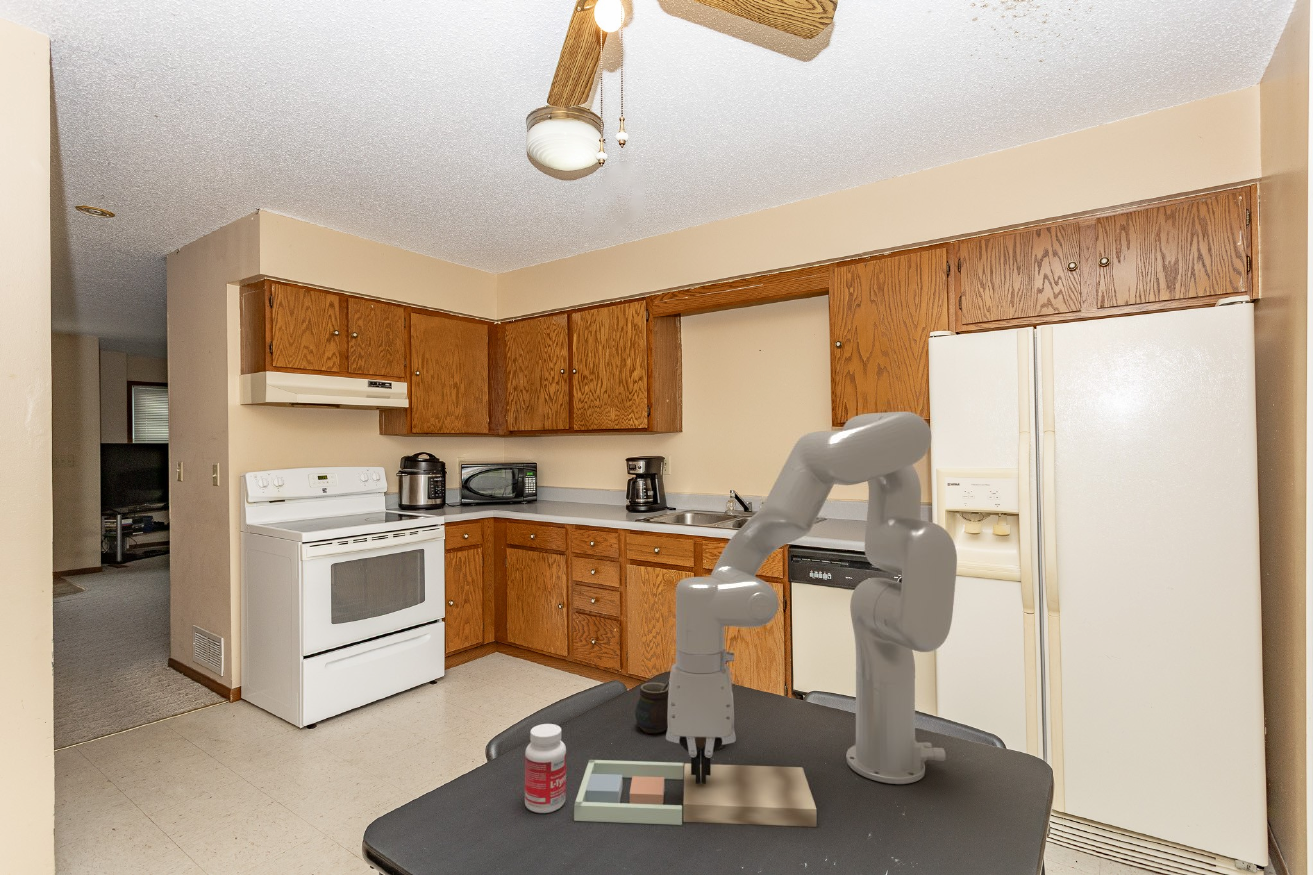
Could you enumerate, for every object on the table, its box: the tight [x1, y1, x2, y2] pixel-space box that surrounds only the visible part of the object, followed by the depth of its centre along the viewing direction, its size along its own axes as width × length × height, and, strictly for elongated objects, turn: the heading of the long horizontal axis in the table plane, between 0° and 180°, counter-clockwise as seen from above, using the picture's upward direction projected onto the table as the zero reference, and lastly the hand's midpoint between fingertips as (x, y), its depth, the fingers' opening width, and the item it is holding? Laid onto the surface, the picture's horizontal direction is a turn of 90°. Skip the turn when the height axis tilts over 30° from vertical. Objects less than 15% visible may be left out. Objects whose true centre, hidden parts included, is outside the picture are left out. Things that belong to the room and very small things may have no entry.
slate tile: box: [586, 774, 623, 803], centre depth 100 cm, size 5×5×2 cm
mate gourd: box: [634, 679, 669, 734], centre depth 124 cm, size 7×8×10 cm
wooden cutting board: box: [682, 763, 818, 828], centre depth 99 cm, size 19×12×2 cm, turn 87°
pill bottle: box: [524, 723, 567, 814], centre depth 98 cm, size 6×6×11 cm
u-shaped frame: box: [573, 759, 684, 826], centre depth 100 cm, size 16×14×2 cm
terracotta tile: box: [629, 776, 665, 805], centre depth 99 cm, size 5×5×2 cm
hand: (700, 778), depth 99 cm, fingers closed
